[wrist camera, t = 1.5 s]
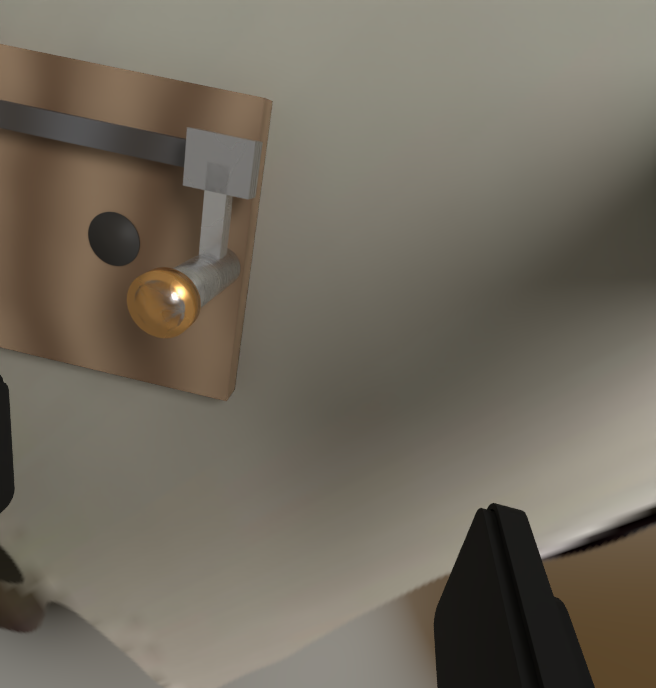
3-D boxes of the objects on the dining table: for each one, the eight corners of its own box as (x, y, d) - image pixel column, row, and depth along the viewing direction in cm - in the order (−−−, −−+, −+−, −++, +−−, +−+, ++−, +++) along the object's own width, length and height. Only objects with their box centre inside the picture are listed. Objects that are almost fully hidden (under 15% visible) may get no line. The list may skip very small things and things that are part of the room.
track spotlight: (267, 142, 22) (214, 138, 16) (246, 296, 25) (195, 346, 19) (204, 129, 23) (126, 119, 16) (191, 283, 25) (120, 328, 19)
